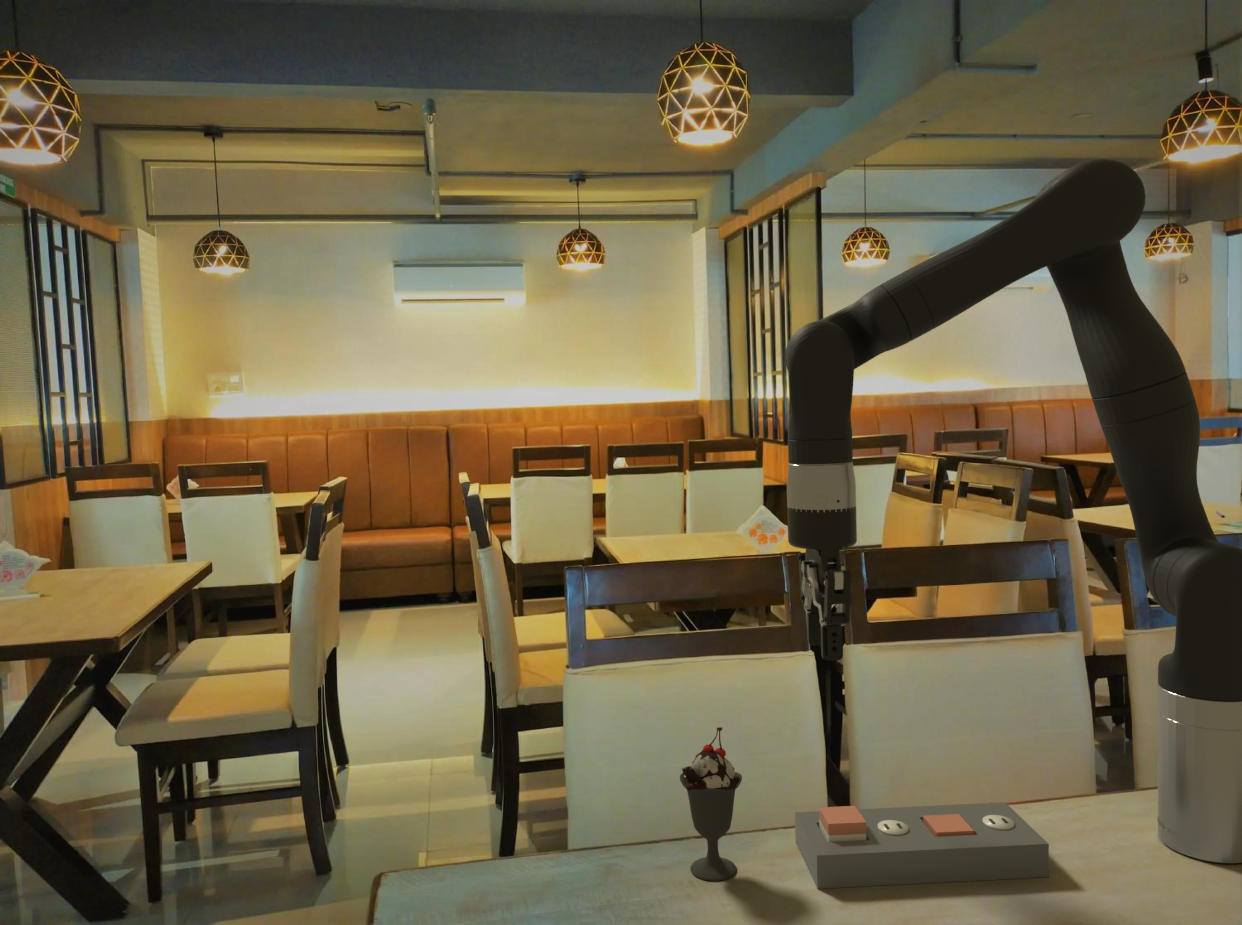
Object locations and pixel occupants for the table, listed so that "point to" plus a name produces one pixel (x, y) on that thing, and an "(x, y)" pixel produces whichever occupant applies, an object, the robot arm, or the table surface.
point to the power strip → (924, 848)
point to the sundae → (711, 807)
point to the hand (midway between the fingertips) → (824, 651)
